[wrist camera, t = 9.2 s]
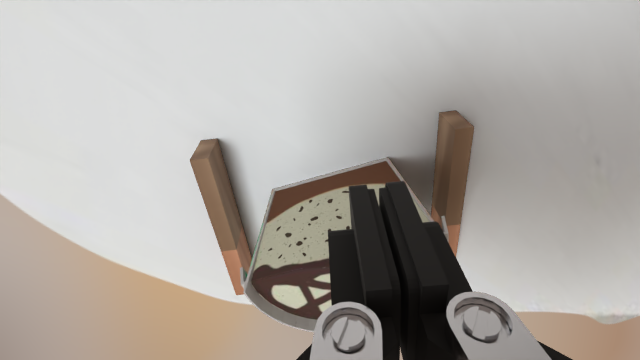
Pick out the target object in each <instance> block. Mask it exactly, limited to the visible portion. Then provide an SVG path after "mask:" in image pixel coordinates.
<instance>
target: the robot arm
mask: <svg viewBox="0 0 640 360" xmlns="http://www.w3.org/2000/svg"><path fill="white" fill-rule="evenodd" d="M349 202H350V215H351V229H345V230H334V231H328V246H329V266H330V285H331V304H332V306H330V307H329V308H328V309H326V310H325V311H323V313H322V314H321V315H320V317H319V318H318V320H317V323H316V326H315V330H314V336H313V342H312V344H311V345H310V347H308V348H307V349H306V350H305V351H304V352H303V353H302V354H301V355H300V356H299V358H298V359H297V360H399V356H400V348H401V353H402V357H403V360H572V359H570V358H568V357H567V356H565V355H563V354H561V353H559V352H557V351H555V350H554V349H552V348H550V347H548V346H546V345H544V344H542V343H540V342H539V341H537V340H536V339H535V338H534V336H533V335H532V334H531V333H530V331H529V330H528V329H527V327H526V326H525V325H524V324H523V322H522V321H521V320H520V319H519V317H518V316H517V315H516V313H515V312H514V311H513V310H512V309H511V308H510V307H509V306H508V305H507V304H506V303H504V302H503V301H501V300H500V299H498V298H497V297H494V296H491V295H489V294H486V293H481V292H473V291H472V289H471V287H470V285H469V283H468V281H467V279H466V277H465V275H464V273H463V271H462V269H461V267H460V265H459V263H458V261H457V259H456V257H455V255H454V253H453V251H452V249H451V247H450V245H449V243H448V241H447V239H446V237H445V235H444V233H443V231H442V229H441V227H440V225H439V223H438V222H436V221H433V222H422V220H421V217H420V215H419V213H418V210H417V208H416V206H415V204H414V201H413V199H412V197H411V194H410V192H409V190H408V187H407V185H406V183H405V181H397V182H387V183H386V184H385V187H384V188H379V204H378V201H377V197H376V194H375V190H374V189H368V188H367V185H356V186H349Z"/></svg>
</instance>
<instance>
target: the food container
mask: <svg viewBox="0 0 640 360" xmlns="http://www.w3.org/2000/svg"><path fill="white" fill-rule="evenodd" d="M397 181H405V180H404V179H403V177H402V176H401V174H400V173H399V172H398V170H397V169H396V168H395V166H394V165H393V163H392V162H391V161H390V159H389V158H388V157H386V158H382V159H379V160H375V161H372V162H368V163H364V164H361V165H357V166H354V167H350V168H346V169H343V170H339V171H336V172H332V173H328V174H325V175H321V176H318V177H314V178H310V179H307V180H303V181H300V182H296V183H292V184H289V185H285V186H282V187H278V188H274V189H272V192H271V196H270V199H269V203H268V206H267V210H266V213H265V216H264V220H263V223H262V227H261V230H260V234H259V237H258V240H257V244H256V247H255V251H254V254H253V258H252V261H251V265H250V268H249V271H248V274H247V272H246V271H245V270H244V268H243V267H241V268H240V278H241V286H242V287H243V288H244V294H245V295H246V297H247V298H248V299H249V301H250V302H251V303H252V304H253V305H254V306H255V307H257V309H259V310H260V311H261V312H262V313H264V314H266V315H267V316H268V317H270V318H272V319H274V320H276V321H278V322H280V323H282V324H284V325H287V326H290V327H293V328H296V329H300V330H304V331H308V332H314V330H315V326H316V323H317V320H318V318H319V317H320V315H321V314H322V313H323V311H325V310H326V309H328V308H329V307H330V306H332V304H331V285H330V266H329V246H328V231H334V230H345V229H351V215H350V202H349V186H356V185H367V188H368V189H374V190H375V194H376V197H377V201H378V204H379V188H384V187H385V184H386V183H387V182H397ZM405 183H406V181H405ZM406 185H407V187H408V190H409V192H410V194H411V197H412V199H413V201H414V204H415V206H416V208H417V210H418V213H419V215H420V217H421V220H422V222H433V221H434V220H433V218H432V217H431V216H430V214H429V213H428V212H427V210H426V209H425V207H424V206H423V205H422V203H421V202H420V201H419V199H418V198H417V196H416V195H415V194H414V192H413V191H412V190H411V188H410V187H409V185H408V184H407V183H406ZM441 218H442V231H443V233H444V235H445V237H446V239H447V241H448V243H449V233H448V229H447V225H446V221H445V216H441Z"/></svg>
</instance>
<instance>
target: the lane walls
mask: <svg viewBox="0 0 640 360" xmlns="http://www.w3.org/2000/svg"><path fill="white" fill-rule="evenodd" d="M473 132H474V126H472V125H471V124H470V123H469V122H468V121H467V120H466V119H465V118H464V117H463V116H461V115H460V114H459V113H458V112H457V111H448V112H440V113H439V123H438V135H437V147H436V159H435V172H434V184H433V196H432V209H431V217H432V218H433V220H434V221H436V222H438V223H439V225H440V227H441V229H442V218H441V216H445V221H446V225H447V229H448V233H449V245H450V247H451V249H452V251H453V253H454V255H455V257H456V253H457V246H458V239H459V231H460V224H461V217H462V210H463V203H464V196H465V189H466V182H467V175H468V167H469V160H470V153H471V146H472V139H473ZM190 163H191V166H192V168H193V171H194V174H195V177H196V180H197V183H198V186H199V189H200V192H201V195H202V197H203V200H204V203H205V206H206V209H207V212H208V215H209V218H210V221H211V223H212V226H213V229H214V232H215V235H216V238H217V241H218V244H219V247H220V249H221V252H222V255H223V258H224V261H225V264H226V267H227V270H228V273H229V276H230V278H231V281H232V284H233V287H234V290H235V293H236V295H242V294H244V288H243V287H242V286H241V278H240V268H241V267H243V268H244V270H245V271H246V272H247V274H248V271H249V268H250V265H251V261H252V257H251V254H250V250H249V247H248V243H247V240H246V236H245V233H244V229H243V226H242V222H241V219H240V215H239V212H238V208H237V205H236V201H235V198H234V194H233V191H232V187H231V184H230V181H229V177H228V174H227V170H226V167H225V163H224V160H223V156H222V153H221V149H220V146H219V142H218V139H210V140H202V141H200V143H199V145H198V147H197V148H196V150H195V152H194V154H193V155H192V157H191V159H190Z"/></svg>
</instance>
